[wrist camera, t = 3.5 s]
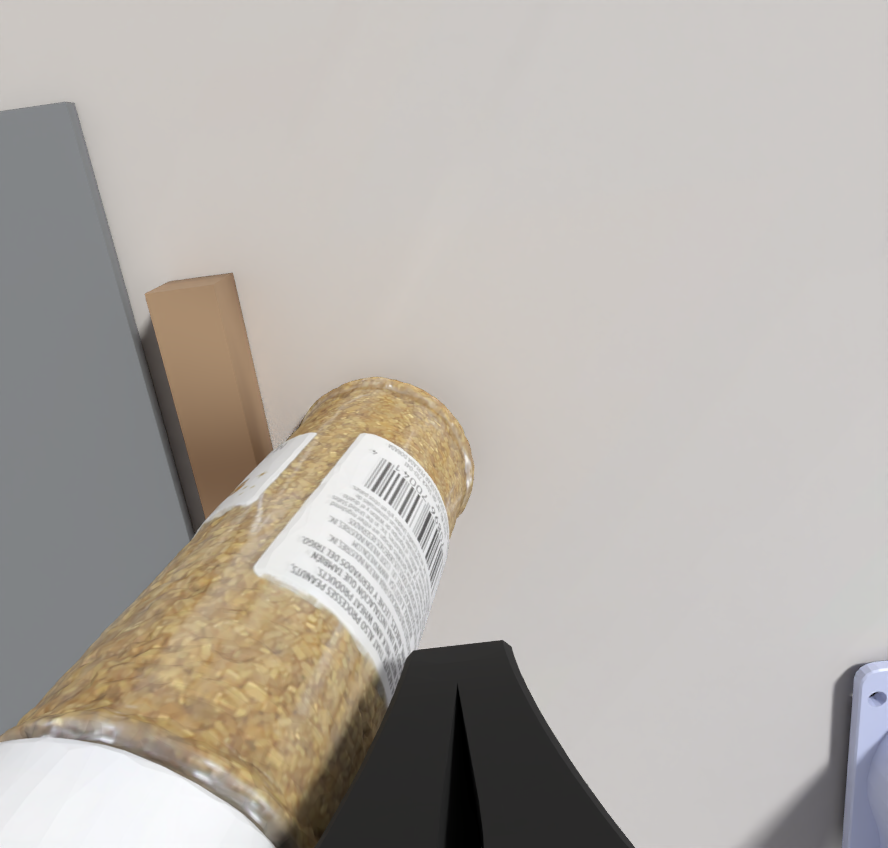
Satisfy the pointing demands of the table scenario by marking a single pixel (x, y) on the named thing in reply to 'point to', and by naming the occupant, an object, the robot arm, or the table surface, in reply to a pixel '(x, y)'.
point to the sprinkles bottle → (254, 646)
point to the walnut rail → (211, 381)
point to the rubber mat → (70, 417)
